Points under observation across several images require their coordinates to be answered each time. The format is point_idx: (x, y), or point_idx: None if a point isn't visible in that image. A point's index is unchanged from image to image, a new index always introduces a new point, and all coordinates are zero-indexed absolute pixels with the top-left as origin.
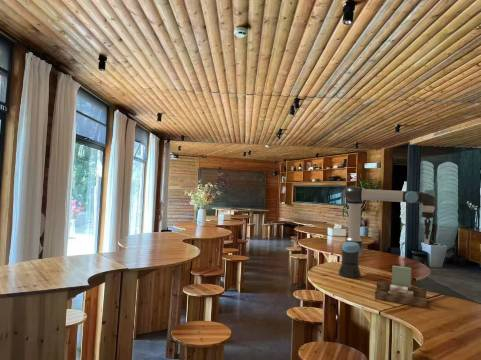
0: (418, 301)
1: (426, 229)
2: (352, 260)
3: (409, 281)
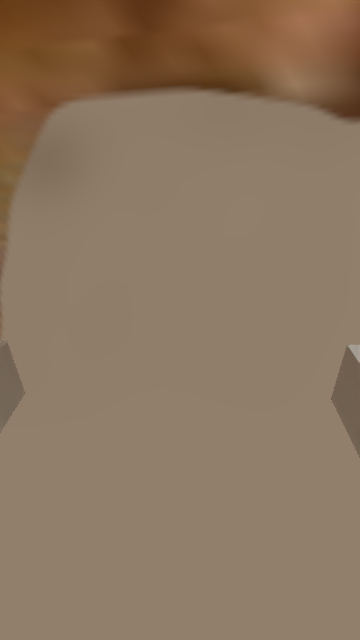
0: None
1: None
2: None
3: None
